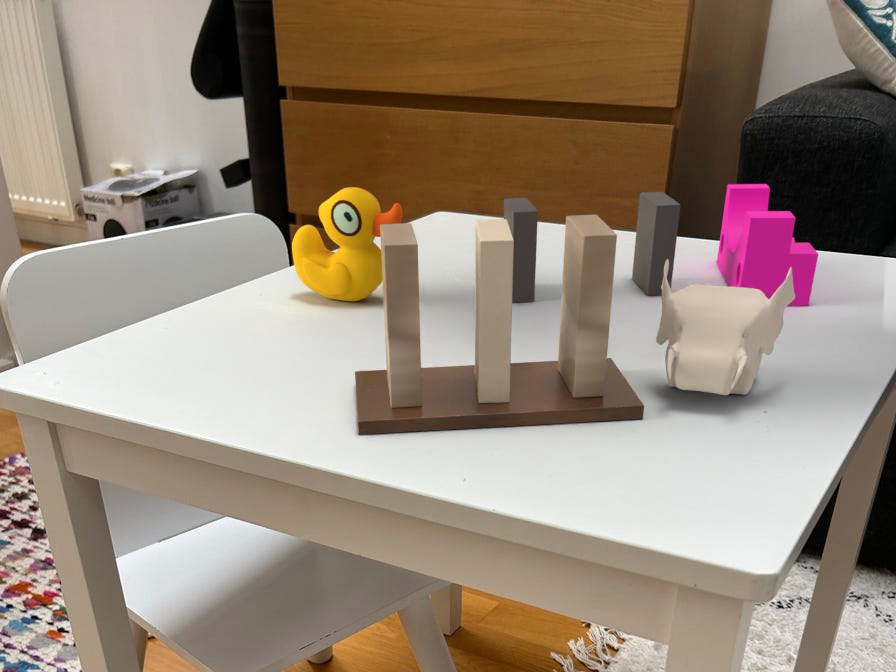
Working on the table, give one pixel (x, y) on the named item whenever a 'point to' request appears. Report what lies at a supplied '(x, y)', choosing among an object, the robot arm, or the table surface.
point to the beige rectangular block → (493, 309)
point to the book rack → (531, 383)
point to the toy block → (762, 245)
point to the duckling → (344, 246)
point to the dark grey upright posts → (649, 255)
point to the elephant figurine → (719, 334)
